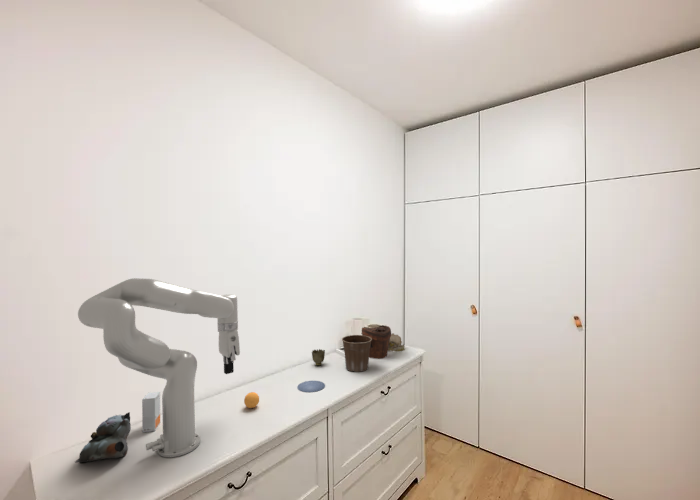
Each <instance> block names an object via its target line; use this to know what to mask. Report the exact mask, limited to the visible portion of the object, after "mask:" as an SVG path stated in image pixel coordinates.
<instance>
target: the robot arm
mask: <svg viewBox="0 0 700 500" xmlns="http://www.w3.org/2000/svg"><path fill="white" fill-rule="evenodd" d="M134 306H135V307H137V306H138V307H144V308H145V307H146V308H150V309H157V310H162V311H166V312H171V313H178V314H184V315H198V316H200V317H203V318H210V319H217V332H218V352H219V353H220V354H221V356H222V358H223V373H224V374H225V375H229V374H232V373H234V370H235V369H234V362H235V361H236V359H237V357H236V356H239V355H240V353H241V351H240V350H241V349H240V337H239V332H238V330H239V323H238V322H239V317H238V312H239V310H238V296H236V295H235V294H222V295H218V294H215V293H214V294H213V293H209V292H206V291H205V292H204V291H200V290H196V289H192V288H188V287H185V286H184V287H183V286H180V285H176V284H172V283H169V282H166V281H165V282H164V281H161V280H158V279H152V278H136V277H135V278H134V277H133V278H130V279H129V278H127V279H125V280H124V281H121V282H120V283H117V284H115V285H113V286H111V287H109V288H107V289H105V290H103V291H101V292H99V293H96V294H95V295H93V296H91V297H89V298H87V299H86V300H85V301H84V302H83V303H81V304H80V306H79V308H78V311H77V317H78V320H79V321H80V323H82V324H83V325H84V326H86V327H89V328H94V329H101V330H103V332H102V333H103V335H102V337H103V344H104V348H105V350H106V351H107V352H108V353H110V355H112V356H114V357H117V359H118V361H119V363H120V364H121V365H123V366H124V367H125V368H128V369H131V370H133V371H136V372H139V373H142V374H144V375H147V376H151V377H154V378H159V379H164V380H166V383H165V386H164V388H163V391H162V395H161V398H162V399H161V405H162V434H160V436H159V438H157V439H156V440H155V441H151V442H148V443H146V444H145V450H146V451H149V450H152V452H156V451H157V454H158V455H159V456H161V457H163V458H175V457H176V458H177V457H180V456H183V455H186V454H188V453H190V452H192V451H194V450H195V449H196V448H197V447H198V446H199V445H200V443H201V436H200V434H198V433H197V432H196V415H195V414H196V413H195V411H196V409H195V407H196V406H195V401H196V400H195V382H196V374H197V371H198V370H197V368H198V361H197V358H196V356H195V355H194V354H193V353H191V352H189V351H186V350H180V349H175V348H169V346H168V345H167V343H165V342H164V341H162V340H160V339H157V338H155V337H152V336H150V335H148V334H146V333H144V332H142V331H141V330H139V328H137V325H136V311H135V309H134Z"/></svg>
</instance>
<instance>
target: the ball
mask: <svg viewBox="0 0 700 500" xmlns="http://www.w3.org/2000/svg"><path fill="white" fill-rule="evenodd" d="M259 402H260V396H259V394H258V393H256V392H253V391H251V392H248V393H247V394H246V395H245V396H244V401H243V403H244V405H245V407H246V408H249V409H254V408H255V407H257V406H258V405H259Z"/></svg>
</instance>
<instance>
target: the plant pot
mask: <svg viewBox="0 0 700 500" xmlns="http://www.w3.org/2000/svg"><path fill="white" fill-rule="evenodd" d="M371 341H372V338H370V337H368V336H364V335H362V334H352V335H351V334H350V335H346V336H343V337H342V338H341V342H342V346H343V350H344V360H345V361H344V363H345V369H346V370H347V371H349V372H354V373H362V372H366V371H367V370H368V369H369V362H370V361H369V360H370V357H369V351H370V346H371Z"/></svg>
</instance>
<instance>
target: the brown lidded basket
mask: <svg viewBox="0 0 700 500" xmlns="http://www.w3.org/2000/svg"><path fill="white" fill-rule="evenodd" d="M391 330H392V329H391V327H390V326H387V325H385V324H384V325H383V324H382V325H380V326H376V327H370V328H369V327H362V328H361V334H360V335H364V336H368V337H370V338H372V341H371V346H370V351H369V359H384V358H386V357H387V356H388V346H389V341H390V337H391V335H392V331H391Z"/></svg>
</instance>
